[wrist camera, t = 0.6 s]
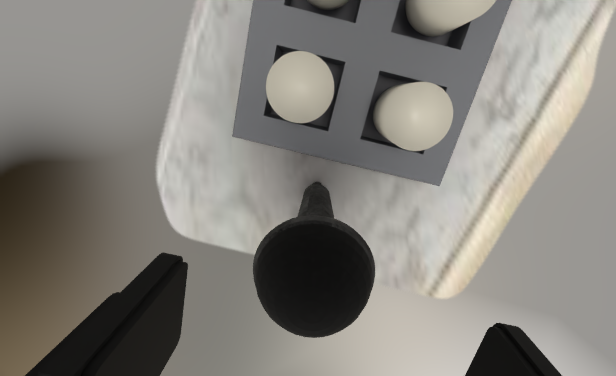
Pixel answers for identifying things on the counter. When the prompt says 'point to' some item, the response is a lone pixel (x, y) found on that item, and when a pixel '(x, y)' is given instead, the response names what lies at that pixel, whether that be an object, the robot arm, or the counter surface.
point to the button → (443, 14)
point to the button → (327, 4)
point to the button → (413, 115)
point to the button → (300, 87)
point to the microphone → (314, 270)
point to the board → (362, 78)
